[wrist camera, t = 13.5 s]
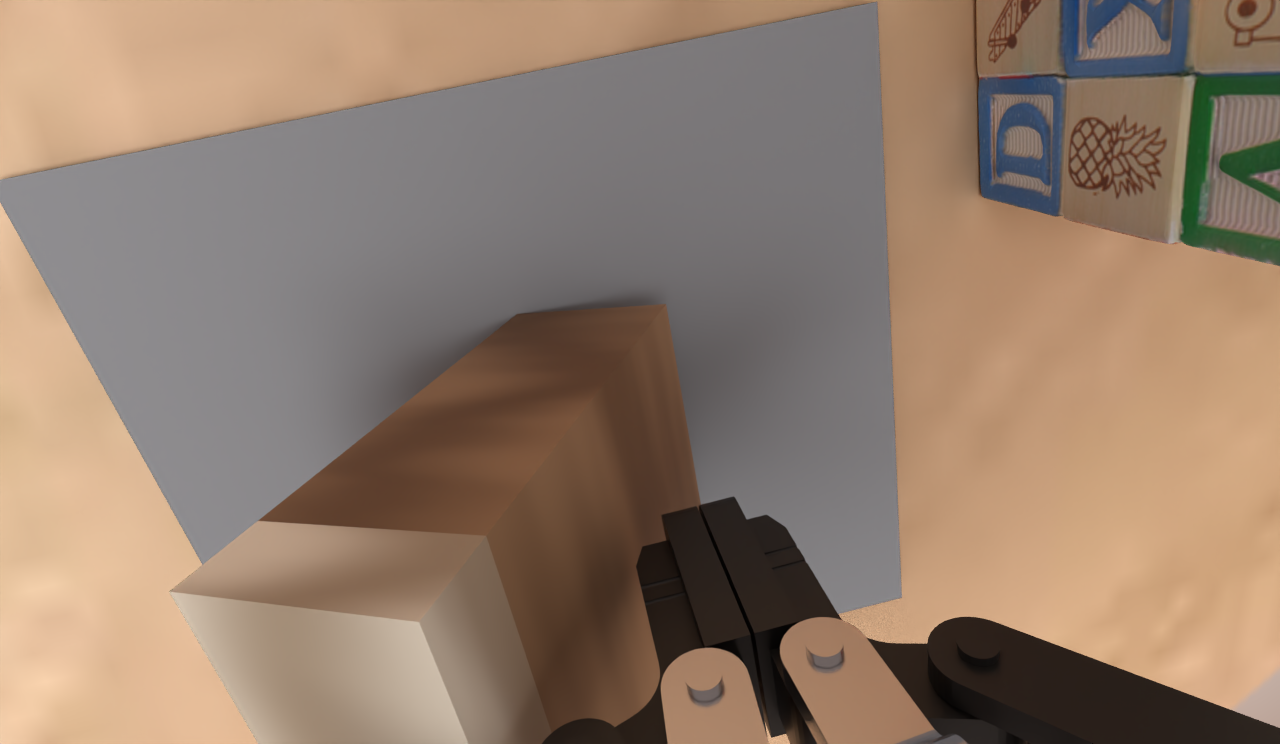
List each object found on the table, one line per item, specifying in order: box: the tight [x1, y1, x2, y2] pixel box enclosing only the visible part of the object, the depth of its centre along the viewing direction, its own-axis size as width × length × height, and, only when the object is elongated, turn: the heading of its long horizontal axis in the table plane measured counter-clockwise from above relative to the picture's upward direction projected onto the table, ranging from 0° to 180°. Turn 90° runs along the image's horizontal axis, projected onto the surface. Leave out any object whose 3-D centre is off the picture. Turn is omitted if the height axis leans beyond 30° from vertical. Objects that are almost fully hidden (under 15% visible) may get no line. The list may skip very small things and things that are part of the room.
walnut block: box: [169, 304, 701, 744], centre depth 14 cm, size 4×7×10 cm, turn 11°
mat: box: [0, 2, 902, 614], centre depth 19 cm, size 20×18×1 cm
